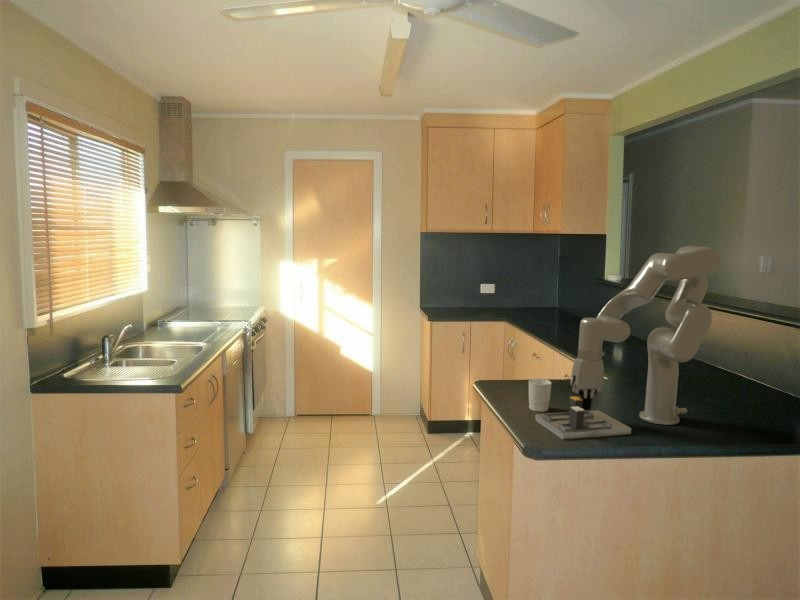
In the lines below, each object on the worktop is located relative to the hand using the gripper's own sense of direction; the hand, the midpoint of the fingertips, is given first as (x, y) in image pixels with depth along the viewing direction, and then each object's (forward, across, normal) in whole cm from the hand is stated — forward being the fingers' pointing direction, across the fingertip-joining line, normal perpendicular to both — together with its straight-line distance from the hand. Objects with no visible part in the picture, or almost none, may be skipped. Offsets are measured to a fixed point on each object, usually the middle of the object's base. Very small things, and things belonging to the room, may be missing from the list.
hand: (585, 408), depth 197 cm
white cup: (+5, +9, -15) cm, 18 cm away
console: (+4, +4, +5) cm, 8 cm away
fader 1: (+2, +4, 0) cm, 4 cm away
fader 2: (+2, +9, +10) cm, 14 cm away
